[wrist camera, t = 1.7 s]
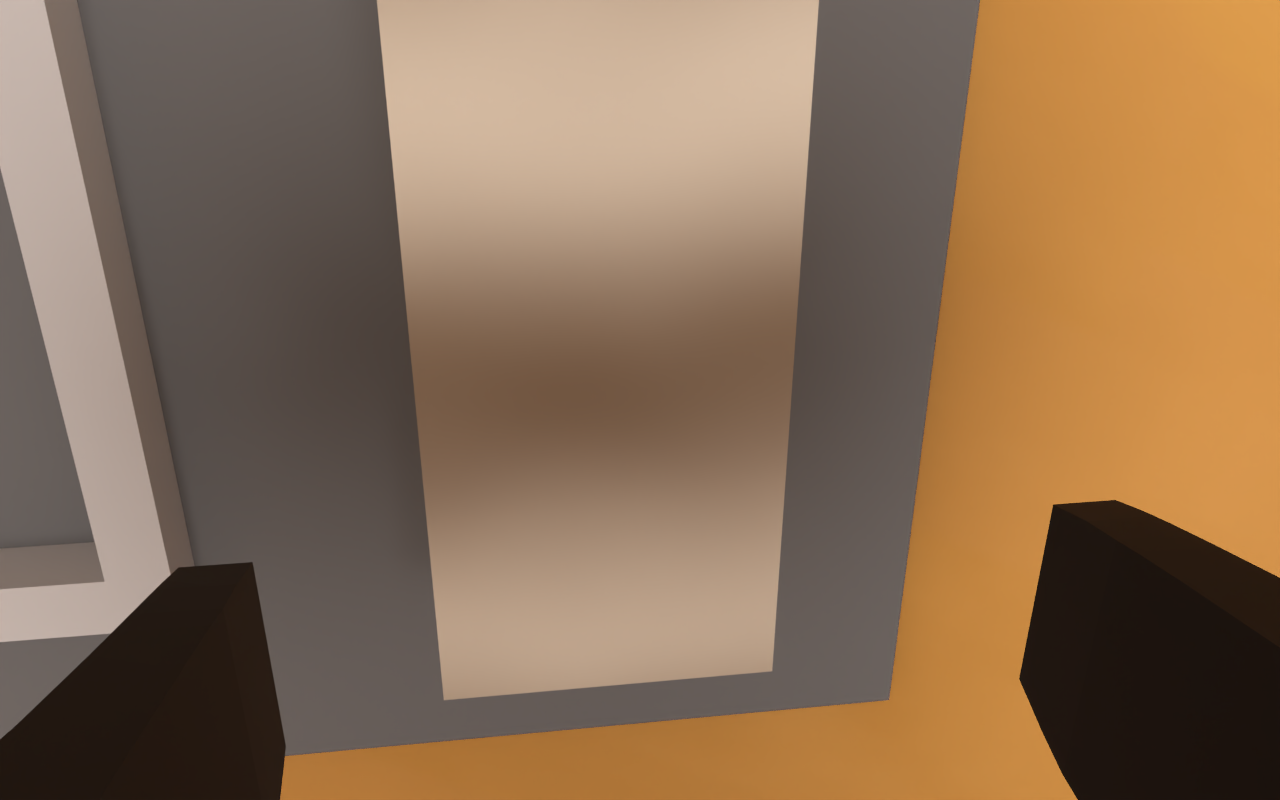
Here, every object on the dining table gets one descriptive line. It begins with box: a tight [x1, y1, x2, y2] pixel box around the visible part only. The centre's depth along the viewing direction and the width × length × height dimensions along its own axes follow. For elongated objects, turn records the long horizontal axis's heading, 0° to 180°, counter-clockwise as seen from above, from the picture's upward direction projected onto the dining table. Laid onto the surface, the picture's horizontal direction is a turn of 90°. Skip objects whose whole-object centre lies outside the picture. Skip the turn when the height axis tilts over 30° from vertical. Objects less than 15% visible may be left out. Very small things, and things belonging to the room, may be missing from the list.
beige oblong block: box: [377, 0, 819, 700], centre depth 16 cm, size 10×5×4 cm, turn 0°
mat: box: [0, 0, 980, 756], centre depth 16 cm, size 18×28×2 cm, turn 90°
